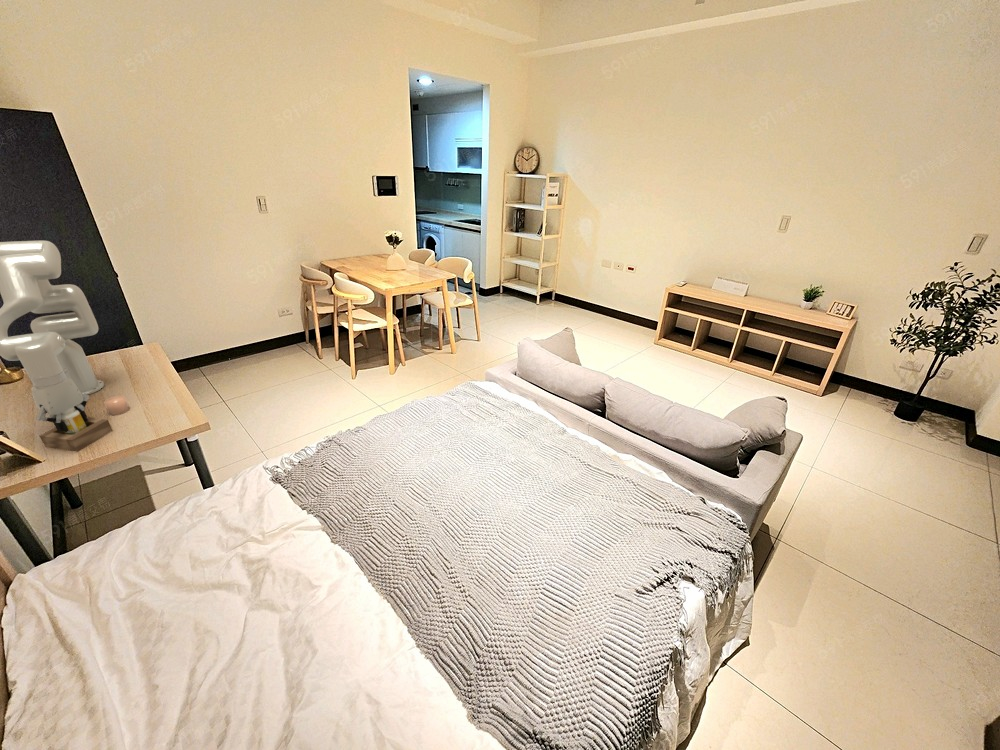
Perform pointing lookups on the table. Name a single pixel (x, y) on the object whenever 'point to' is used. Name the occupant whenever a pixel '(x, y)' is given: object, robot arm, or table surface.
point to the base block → (77, 435)
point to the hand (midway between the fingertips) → (73, 425)
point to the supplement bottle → (73, 421)
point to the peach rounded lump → (116, 405)
